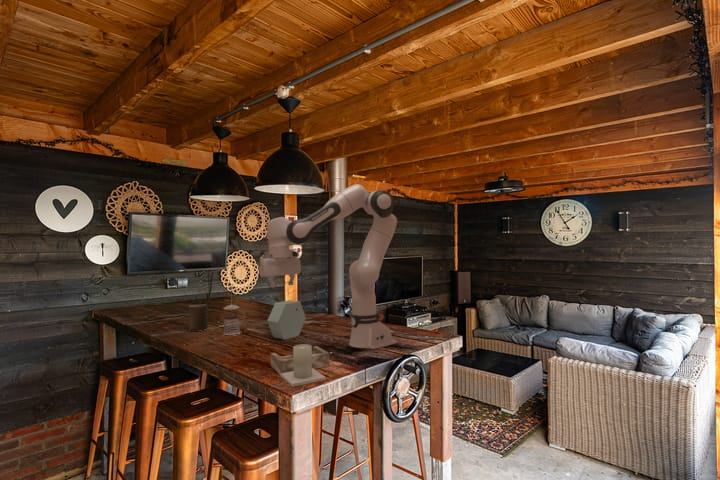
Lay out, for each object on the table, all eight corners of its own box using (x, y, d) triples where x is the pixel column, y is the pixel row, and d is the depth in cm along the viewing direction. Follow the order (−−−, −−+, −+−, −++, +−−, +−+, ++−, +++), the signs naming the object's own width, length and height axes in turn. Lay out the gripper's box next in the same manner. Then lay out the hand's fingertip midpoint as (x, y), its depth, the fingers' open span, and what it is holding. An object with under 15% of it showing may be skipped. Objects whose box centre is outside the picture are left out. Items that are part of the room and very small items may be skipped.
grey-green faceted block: (284, 343, 200) (299, 307, 209) (294, 345, 195) (309, 308, 205) (262, 331, 188) (279, 293, 198) (273, 332, 184) (290, 293, 193)
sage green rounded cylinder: (307, 371, 139) (307, 343, 139) (315, 376, 134) (314, 347, 134) (291, 374, 136) (290, 345, 136) (297, 379, 130) (297, 350, 131)
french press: (222, 332, 208) (222, 285, 208) (245, 330, 211) (244, 285, 211) (221, 336, 198) (220, 287, 198) (244, 334, 201) (244, 286, 202)
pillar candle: (206, 331, 211) (205, 303, 211) (186, 332, 208) (186, 304, 209) (208, 327, 220) (208, 301, 220) (190, 328, 218) (190, 302, 218)
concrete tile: (312, 370, 143) (312, 367, 143) (325, 380, 132) (325, 377, 132) (280, 376, 137) (280, 373, 137) (292, 386, 126) (292, 383, 127)
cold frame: (316, 358, 158) (316, 346, 158) (329, 366, 148) (329, 353, 148) (270, 366, 148) (270, 353, 148) (280, 375, 138) (280, 361, 138)
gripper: (264, 254, 157) (267, 288, 156) (301, 252, 173) (304, 283, 172) (255, 256, 161) (257, 289, 160) (292, 254, 177) (295, 284, 176)
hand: (282, 286), depth 166 cm, fingers open, 8 cm apart
